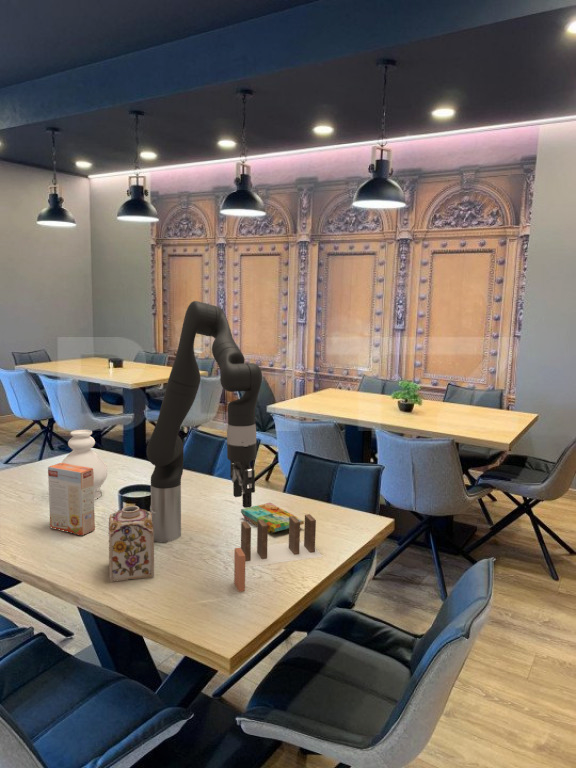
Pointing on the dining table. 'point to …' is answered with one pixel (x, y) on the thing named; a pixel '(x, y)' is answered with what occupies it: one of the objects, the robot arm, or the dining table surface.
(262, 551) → the domino
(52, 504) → the cracker box
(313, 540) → the domino
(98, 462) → the decorative vase
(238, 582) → the domino
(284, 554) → the mat
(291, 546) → the domino
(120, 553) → the decorative jar
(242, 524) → the domino
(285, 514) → the puzzle game
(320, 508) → the dining table surface
